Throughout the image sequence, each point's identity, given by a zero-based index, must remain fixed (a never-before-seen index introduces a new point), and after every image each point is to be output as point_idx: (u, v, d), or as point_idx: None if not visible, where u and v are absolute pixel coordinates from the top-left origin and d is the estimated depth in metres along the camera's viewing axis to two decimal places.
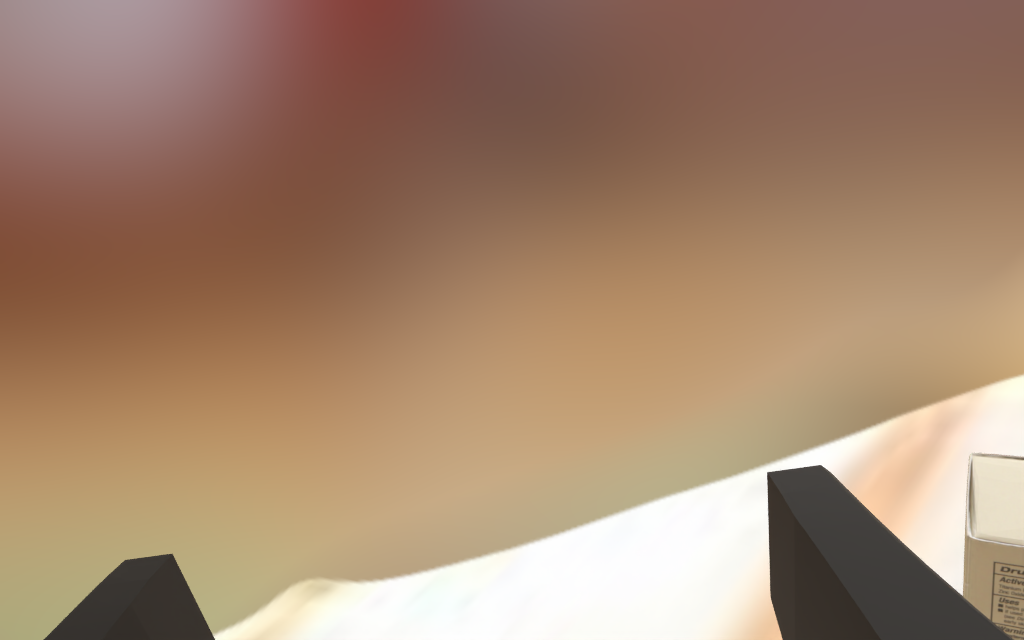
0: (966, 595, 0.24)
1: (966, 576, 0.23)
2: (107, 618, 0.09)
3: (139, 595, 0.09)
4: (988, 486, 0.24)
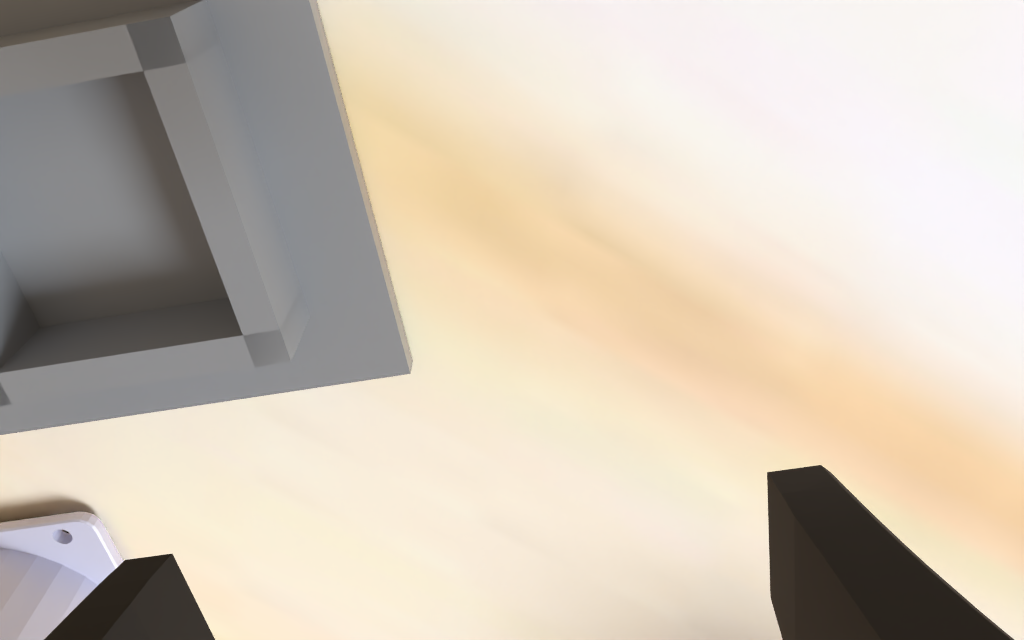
0: None
1: None
2: (107, 618, 0.09)
3: (139, 595, 0.09)
4: None
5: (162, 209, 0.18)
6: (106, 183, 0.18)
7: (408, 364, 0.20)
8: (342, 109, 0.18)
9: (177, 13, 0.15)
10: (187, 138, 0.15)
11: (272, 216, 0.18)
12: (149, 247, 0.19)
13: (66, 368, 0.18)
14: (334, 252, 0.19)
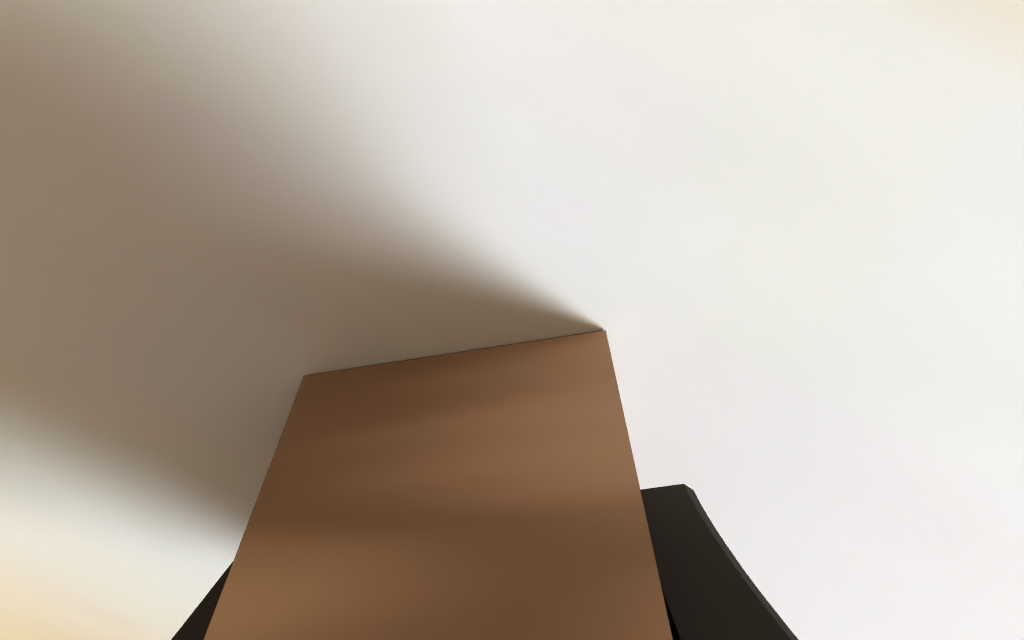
0: None
1: None
2: None
3: None
4: None
5: None
6: None
7: None
8: None
9: None
10: None
11: None
12: None
13: None
14: None
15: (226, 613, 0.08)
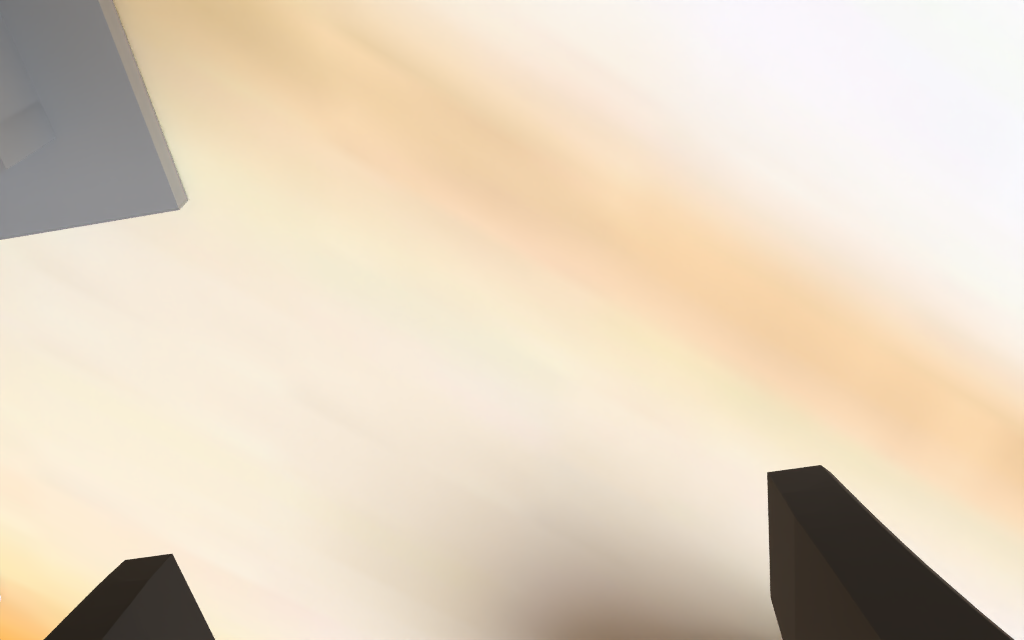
0: None
1: None
2: (106, 618, 0.09)
3: (138, 595, 0.09)
4: None
5: None
6: None
7: (176, 199, 0.18)
8: None
9: None
10: None
11: None
12: None
13: None
14: (72, 58, 0.17)
15: None
